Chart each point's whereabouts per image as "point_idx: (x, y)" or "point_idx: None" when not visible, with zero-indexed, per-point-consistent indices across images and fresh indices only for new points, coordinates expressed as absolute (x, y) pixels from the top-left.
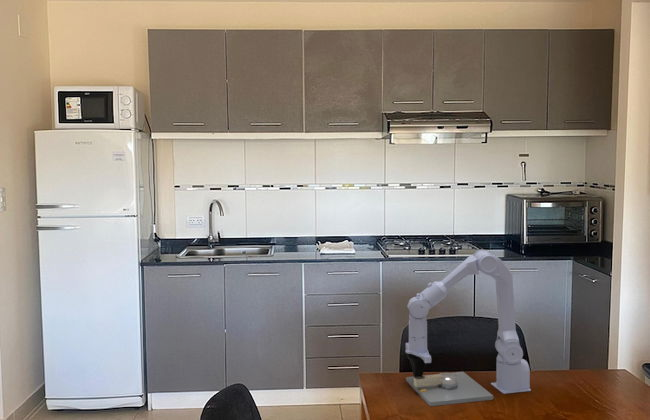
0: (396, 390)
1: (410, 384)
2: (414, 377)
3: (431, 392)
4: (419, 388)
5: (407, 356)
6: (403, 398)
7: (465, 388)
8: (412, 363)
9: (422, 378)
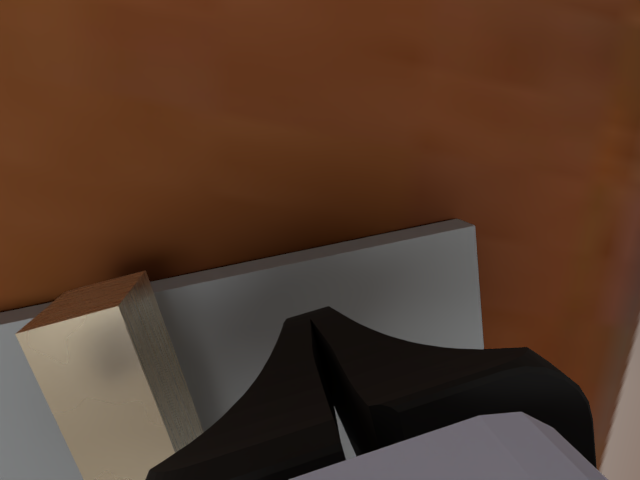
0: (246, 82)
1: (347, 243)
2: (108, 315)
3: None
4: (168, 315)
5: (509, 360)
6: (28, 118)
7: None
8: (314, 390)
9: (71, 418)
